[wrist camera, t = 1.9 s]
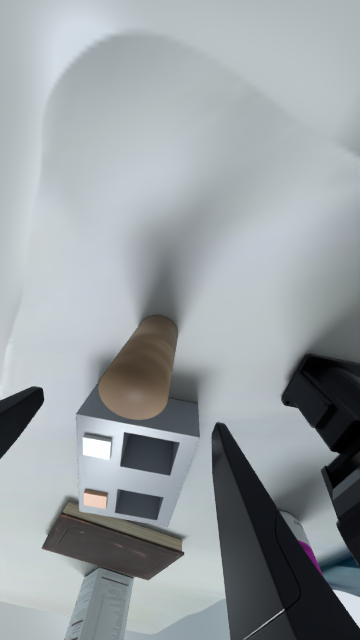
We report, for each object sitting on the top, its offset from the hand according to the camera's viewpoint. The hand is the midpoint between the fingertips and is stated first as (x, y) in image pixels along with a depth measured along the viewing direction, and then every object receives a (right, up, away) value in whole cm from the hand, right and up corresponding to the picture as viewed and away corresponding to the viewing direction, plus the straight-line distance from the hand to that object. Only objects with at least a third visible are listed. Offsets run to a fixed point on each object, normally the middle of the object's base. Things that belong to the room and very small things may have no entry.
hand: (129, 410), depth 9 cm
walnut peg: (0, +3, +8) cm, 9 cm away
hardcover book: (-11, -38, +26) cm, 47 cm away
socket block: (-3, -12, +15) cm, 19 cm away
